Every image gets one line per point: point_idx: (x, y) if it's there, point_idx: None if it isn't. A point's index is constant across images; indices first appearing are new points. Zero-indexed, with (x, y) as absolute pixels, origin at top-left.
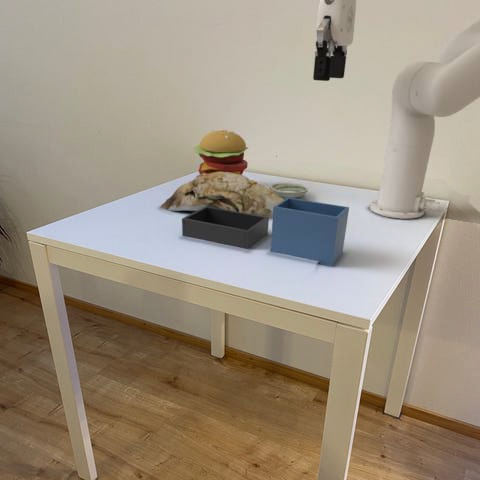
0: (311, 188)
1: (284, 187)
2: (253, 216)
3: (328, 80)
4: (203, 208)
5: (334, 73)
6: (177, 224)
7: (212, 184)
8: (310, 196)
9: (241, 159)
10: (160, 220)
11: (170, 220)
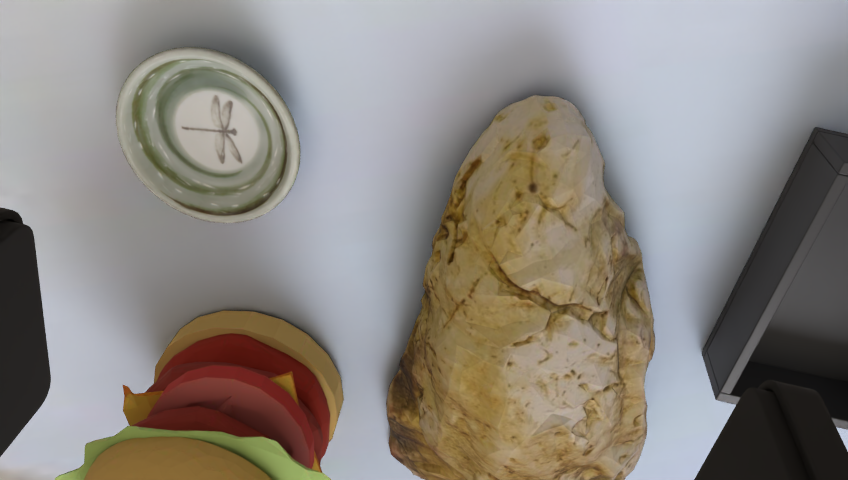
0: (22, 36)
1: (160, 164)
2: (823, 223)
3: (789, 386)
4: None
5: (16, 362)
6: (719, 427)
7: (606, 439)
8: (164, 23)
9: (217, 411)
10: (687, 474)
11: (681, 451)
